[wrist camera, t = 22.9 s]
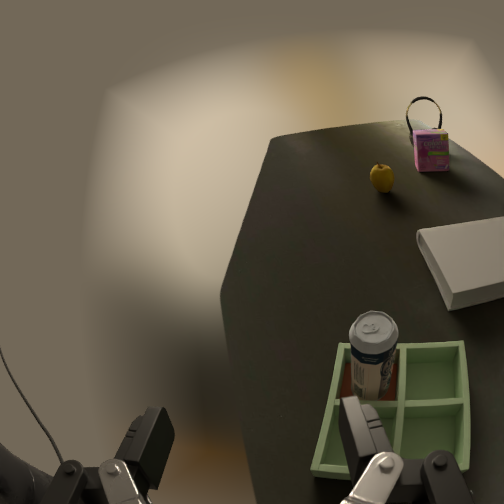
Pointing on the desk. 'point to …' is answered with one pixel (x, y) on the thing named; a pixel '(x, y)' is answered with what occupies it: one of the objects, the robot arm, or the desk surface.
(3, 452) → the robot arm
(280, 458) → the desk surface
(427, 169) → the box
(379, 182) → the apple
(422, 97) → the headphones
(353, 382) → the beer can
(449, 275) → the book
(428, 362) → the compartment tray
